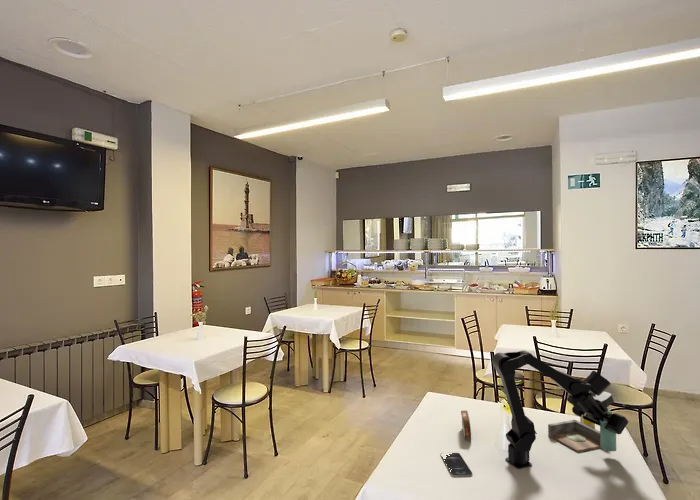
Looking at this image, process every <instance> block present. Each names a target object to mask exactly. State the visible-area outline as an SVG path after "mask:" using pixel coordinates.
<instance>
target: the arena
mask: <svg viewBox="0 0 700 500" xmlns="http://www.w3.org/2000/svg"><path fill="white" fill-rule="evenodd" d="M547 427H548V428H547V429H548V430H547V431H548V433H547V434H548V437H550V438H551V439H553V440H554V441H556V442H557V443H558V442H559V444H561V445H564V446H565V447H567V448H569V449H571V450H572V451H574V452H576V453H582V452H586V451H591V450H596V449H602V448H601V447H600V430H598V429H596V428H595V429H593V428H591V427H589V426H587V425H585V424H583V423H581V422H580V421H578V420H576V419H571V420H566V421H558V422H555V423H554V422H553V423H548V425H547Z"/></svg>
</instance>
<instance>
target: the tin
mask: <svg viewBox="0 0 700 500" xmlns="http://www.w3.org/2000/svg"><path fill="white" fill-rule="evenodd" d="M460 414H461V427H462V433H463V438H464V440H472V429H471V423H470V422H471V421H470V420H471V419H470V416H469V411H468V410H461V411H460Z"/></svg>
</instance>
